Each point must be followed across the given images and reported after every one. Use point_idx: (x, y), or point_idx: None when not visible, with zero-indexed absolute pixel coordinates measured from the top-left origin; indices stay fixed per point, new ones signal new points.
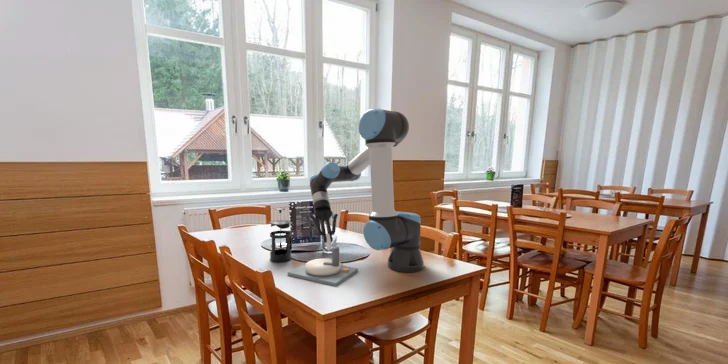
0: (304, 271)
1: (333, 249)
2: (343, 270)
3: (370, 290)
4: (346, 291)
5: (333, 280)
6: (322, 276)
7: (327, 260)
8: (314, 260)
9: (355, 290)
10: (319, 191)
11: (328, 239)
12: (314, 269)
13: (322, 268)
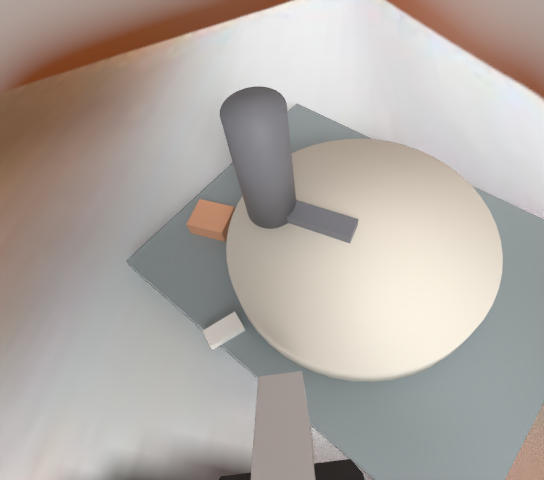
0: None
1: (277, 97)
2: (229, 208)
3: (169, 81)
4: (261, 78)
5: (304, 125)
6: None
7: (321, 309)
8: (438, 326)
9: (224, 83)
10: None
11: (286, 452)
12: (416, 155)
13: (364, 165)
